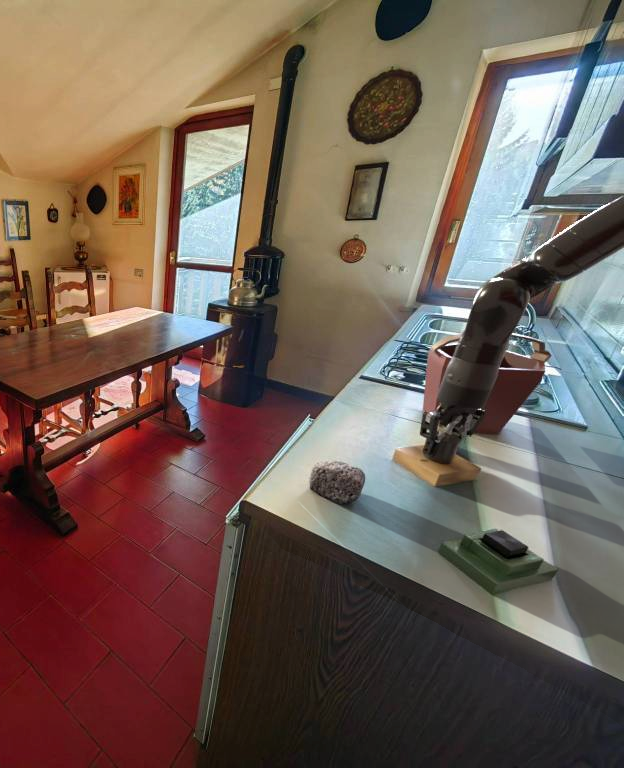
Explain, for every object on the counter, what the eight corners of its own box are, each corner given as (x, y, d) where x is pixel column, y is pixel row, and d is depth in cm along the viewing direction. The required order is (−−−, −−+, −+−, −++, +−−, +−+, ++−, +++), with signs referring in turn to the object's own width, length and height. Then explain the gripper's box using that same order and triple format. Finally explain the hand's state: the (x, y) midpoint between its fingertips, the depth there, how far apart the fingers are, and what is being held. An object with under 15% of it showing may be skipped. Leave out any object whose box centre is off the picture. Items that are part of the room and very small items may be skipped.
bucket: (511, 416, 110) (551, 330, 100) (536, 452, 92) (588, 352, 83) (405, 396, 122) (432, 317, 112) (411, 424, 104) (443, 334, 95)
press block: (493, 540, 66) (503, 522, 64) (552, 580, 59) (564, 560, 57) (437, 552, 63) (445, 533, 62) (491, 595, 56) (502, 574, 55)
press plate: (497, 538, 62) (502, 529, 61) (524, 555, 58) (529, 546, 58) (480, 541, 61) (484, 533, 60) (506, 559, 58) (511, 550, 57)
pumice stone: (329, 485, 83) (294, 481, 79) (345, 454, 81) (310, 448, 77) (372, 517, 74) (335, 514, 70) (392, 482, 72) (354, 478, 68)
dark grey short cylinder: (435, 450, 87) (443, 428, 85) (457, 462, 82) (467, 440, 80) (417, 452, 86) (425, 430, 83) (439, 465, 81) (448, 442, 79)
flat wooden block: (430, 454, 91) (434, 442, 89) (476, 479, 82) (481, 467, 80) (391, 459, 88) (396, 447, 87) (434, 486, 79) (439, 473, 78)
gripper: (458, 391, 72) (428, 467, 79) (516, 385, 75) (483, 459, 82) (420, 376, 79) (396, 448, 85) (475, 371, 82) (447, 441, 88)
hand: (438, 453), depth 83 cm, fingers closed on dark grey short cylinder, 5 cm apart
